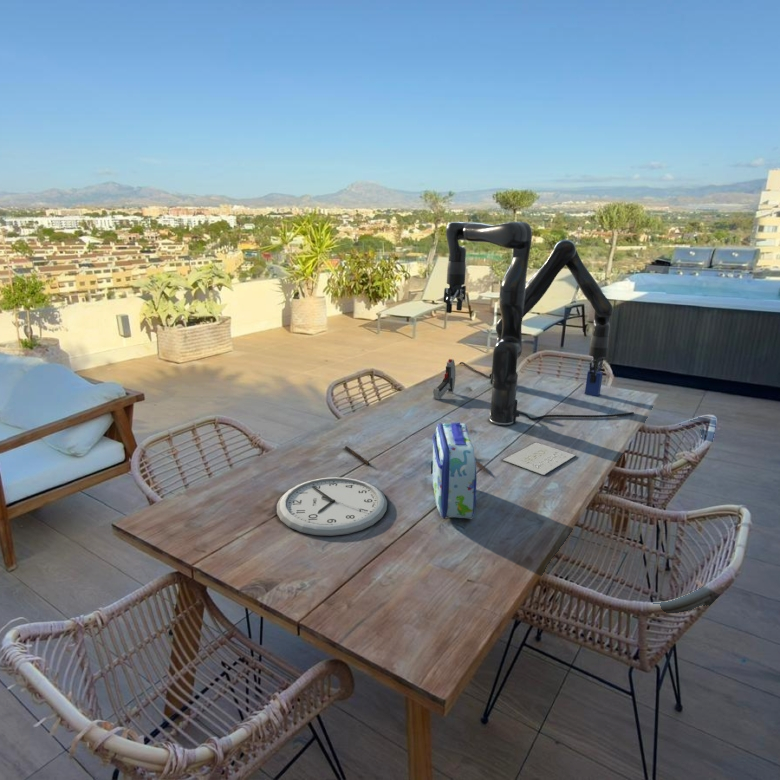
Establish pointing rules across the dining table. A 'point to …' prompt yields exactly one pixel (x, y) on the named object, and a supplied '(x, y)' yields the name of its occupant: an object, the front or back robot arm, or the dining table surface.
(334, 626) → the dining table surface
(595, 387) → the block
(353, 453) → the brown wooden stick
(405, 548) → the dining table surface
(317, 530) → the wall clock
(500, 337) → the back robot arm
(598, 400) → the dining table surface
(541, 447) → the invitation card
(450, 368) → the toy gun
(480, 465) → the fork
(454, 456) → the lunch box
